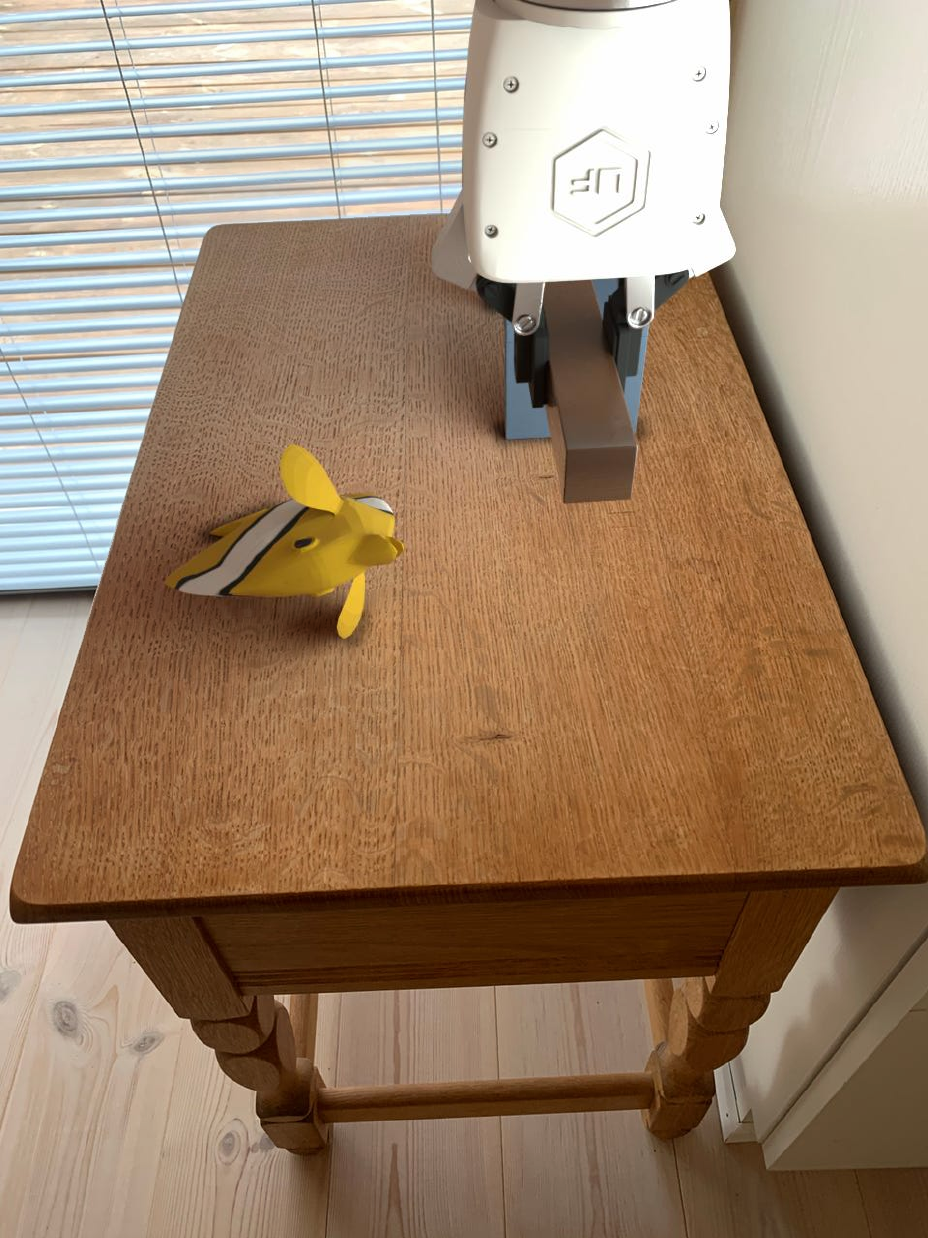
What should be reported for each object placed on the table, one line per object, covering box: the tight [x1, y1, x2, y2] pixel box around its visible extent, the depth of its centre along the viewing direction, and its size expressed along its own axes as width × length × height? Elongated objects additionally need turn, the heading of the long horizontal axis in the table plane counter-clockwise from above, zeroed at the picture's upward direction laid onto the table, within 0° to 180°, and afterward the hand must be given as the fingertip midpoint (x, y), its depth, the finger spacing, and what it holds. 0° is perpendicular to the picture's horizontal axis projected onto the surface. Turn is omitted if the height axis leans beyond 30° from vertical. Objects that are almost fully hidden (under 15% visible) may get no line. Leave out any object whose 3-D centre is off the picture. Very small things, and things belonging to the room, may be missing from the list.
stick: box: [542, 279, 639, 505], centre depth 47 cm, size 16×3×3 cm, turn 3°
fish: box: [164, 443, 405, 640], centre depth 62 cm, size 20×12×15 cm
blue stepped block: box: [492, 278, 650, 440], centre depth 78 cm, size 10×20×12 cm, turn 2°
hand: (573, 385), depth 48 cm, fingers closed on stick, 3 cm apart
